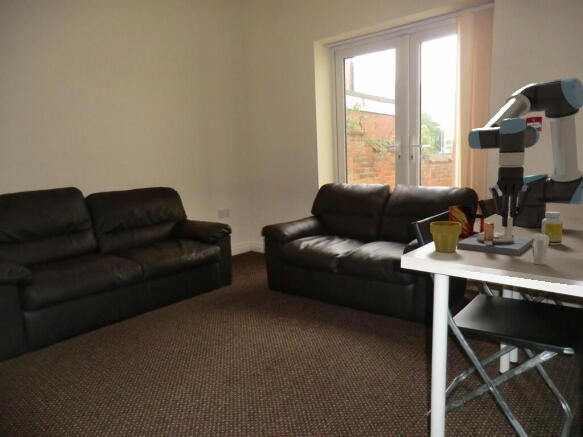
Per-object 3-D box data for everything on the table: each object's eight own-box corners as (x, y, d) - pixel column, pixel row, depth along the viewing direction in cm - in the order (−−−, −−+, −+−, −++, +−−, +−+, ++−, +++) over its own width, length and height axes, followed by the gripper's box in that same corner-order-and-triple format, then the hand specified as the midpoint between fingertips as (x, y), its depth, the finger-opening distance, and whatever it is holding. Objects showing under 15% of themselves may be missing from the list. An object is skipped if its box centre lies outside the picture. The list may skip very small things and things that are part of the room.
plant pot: (424, 251, 149) (425, 224, 148) (436, 246, 157) (437, 220, 155) (454, 255, 142) (455, 226, 141) (465, 249, 150) (466, 222, 149)
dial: (481, 236, 162) (482, 216, 161) (516, 239, 154) (517, 218, 153) (468, 244, 148) (469, 222, 147) (506, 248, 141) (507, 225, 140)
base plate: (475, 239, 168) (475, 233, 167) (532, 244, 155) (532, 238, 154) (456, 248, 153) (457, 242, 152) (518, 255, 140) (518, 248, 139)
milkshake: (543, 266, 125) (545, 233, 124) (527, 262, 130) (528, 230, 129) (554, 264, 127) (555, 232, 126) (537, 261, 132) (539, 229, 130)
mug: (483, 239, 166) (484, 209, 164) (446, 237, 173) (447, 208, 171) (485, 235, 174) (486, 206, 173) (450, 233, 181) (451, 205, 180)
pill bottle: (564, 245, 152) (566, 213, 150) (544, 245, 153) (546, 213, 152) (557, 241, 158) (559, 211, 157) (538, 241, 160) (539, 211, 158)
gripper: (526, 165, 143) (523, 233, 147) (486, 166, 144) (484, 234, 148) (537, 165, 136) (533, 238, 139) (494, 167, 137) (492, 238, 140)
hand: (508, 236), depth 144 cm, fingers closed
